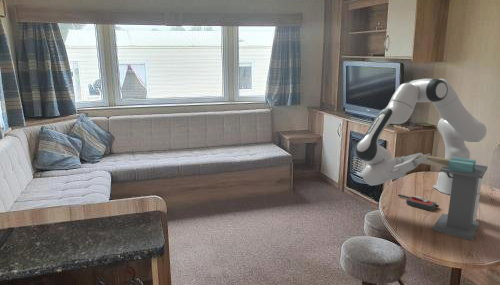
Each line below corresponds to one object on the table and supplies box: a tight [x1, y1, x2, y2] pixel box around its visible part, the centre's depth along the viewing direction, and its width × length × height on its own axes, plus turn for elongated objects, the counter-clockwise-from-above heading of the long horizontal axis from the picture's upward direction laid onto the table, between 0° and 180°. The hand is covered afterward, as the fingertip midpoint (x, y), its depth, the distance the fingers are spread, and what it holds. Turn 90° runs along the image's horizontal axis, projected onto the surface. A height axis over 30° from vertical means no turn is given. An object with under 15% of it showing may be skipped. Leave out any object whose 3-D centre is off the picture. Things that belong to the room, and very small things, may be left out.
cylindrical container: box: [473, 161, 485, 221], centre depth 162 cm, size 7×7×25 cm
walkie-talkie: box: [397, 193, 440, 212], centre depth 181 cm, size 9×4×20 cm
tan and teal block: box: [418, 154, 477, 174], centre depth 151 cm, size 8×20×4 cm, turn 52°
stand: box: [433, 165, 488, 241], centre depth 152 cm, size 16×14×26 cm
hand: (428, 156), depth 154 cm, fingers open, 4 cm apart
